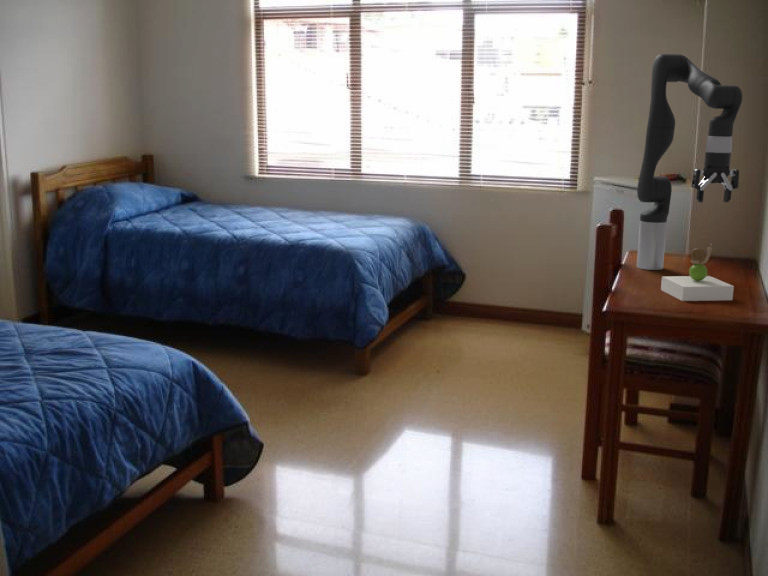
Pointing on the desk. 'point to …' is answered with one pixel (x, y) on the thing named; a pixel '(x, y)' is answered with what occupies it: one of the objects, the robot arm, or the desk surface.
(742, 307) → the desk surface
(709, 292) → the cream block
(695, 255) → the snail figurine
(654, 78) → the robot arm
